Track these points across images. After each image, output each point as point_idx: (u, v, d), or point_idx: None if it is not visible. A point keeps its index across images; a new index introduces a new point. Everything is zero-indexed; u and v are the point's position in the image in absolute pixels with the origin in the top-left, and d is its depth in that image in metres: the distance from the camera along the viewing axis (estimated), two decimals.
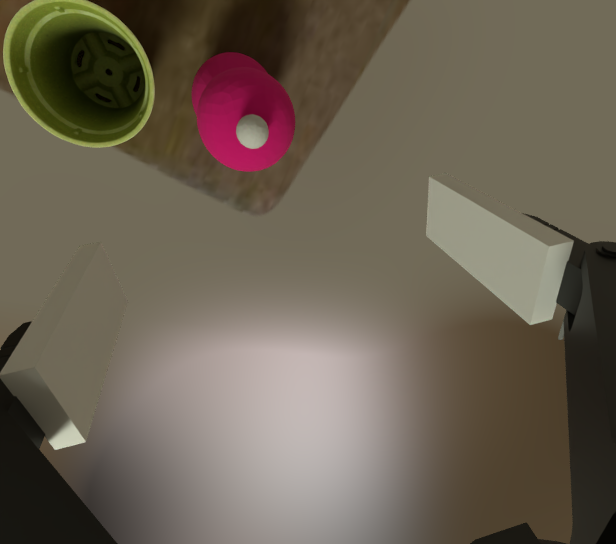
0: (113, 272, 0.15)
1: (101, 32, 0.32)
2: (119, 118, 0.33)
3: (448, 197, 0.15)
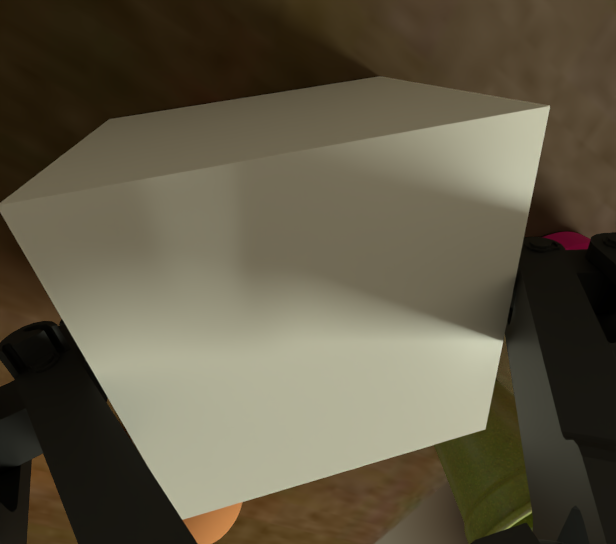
0: None
1: None
2: None
3: None
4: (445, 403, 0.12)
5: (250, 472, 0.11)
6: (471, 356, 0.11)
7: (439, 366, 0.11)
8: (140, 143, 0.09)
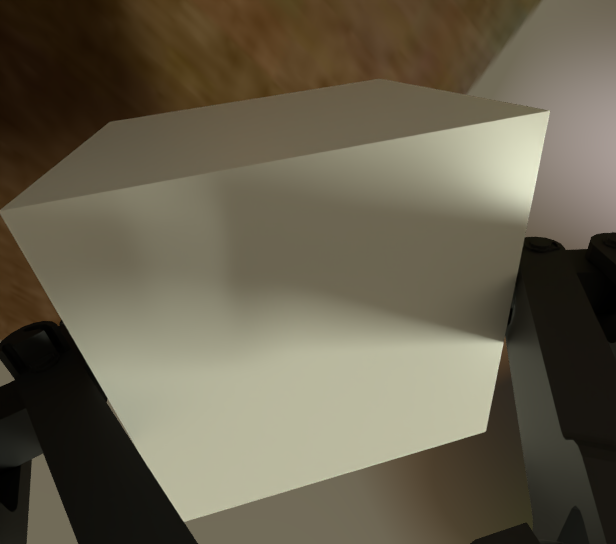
0: None
1: None
2: None
3: None
4: (445, 405, 0.12)
5: (251, 475, 0.11)
6: (471, 359, 0.11)
7: (439, 369, 0.11)
8: (141, 147, 0.09)
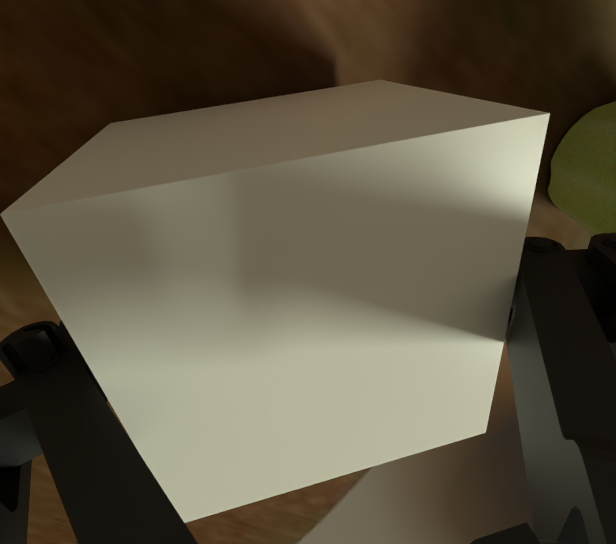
0: None
1: None
2: None
3: None
4: (445, 406, 0.12)
5: (251, 476, 0.11)
6: (471, 360, 0.11)
7: (439, 370, 0.11)
8: (142, 149, 0.09)
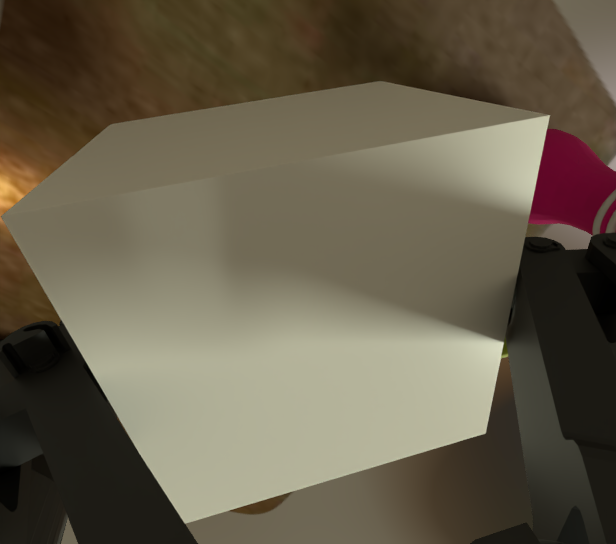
0: None
1: None
2: None
3: None
4: (445, 407, 0.12)
5: (251, 476, 0.11)
6: (471, 361, 0.11)
7: (439, 371, 0.11)
8: (142, 151, 0.09)
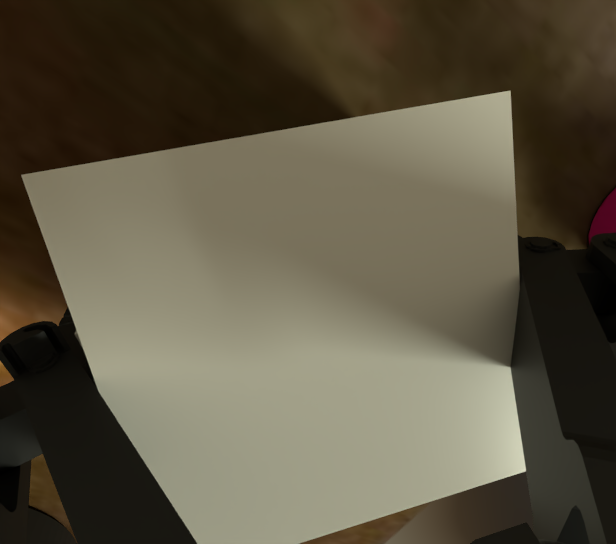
0: None
1: None
2: None
3: None
4: (471, 426, 0.10)
5: (251, 514, 0.10)
6: (490, 363, 0.10)
7: (456, 374, 0.10)
8: None
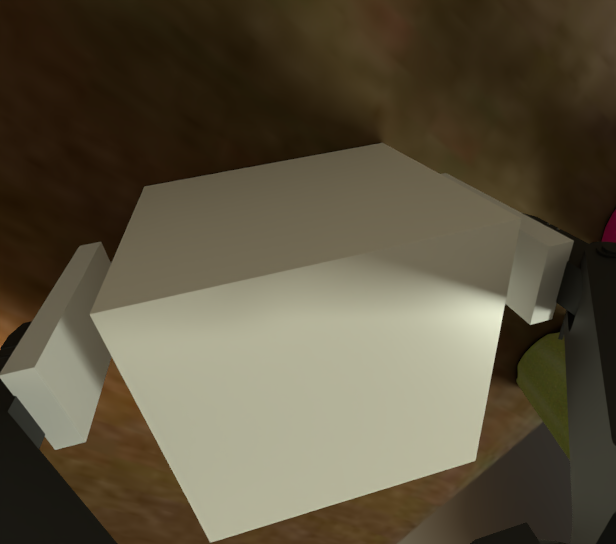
0: None
1: None
2: None
3: None
4: (439, 441, 0.14)
5: (272, 502, 0.13)
6: (461, 403, 0.13)
7: (434, 412, 0.13)
8: (184, 233, 0.11)
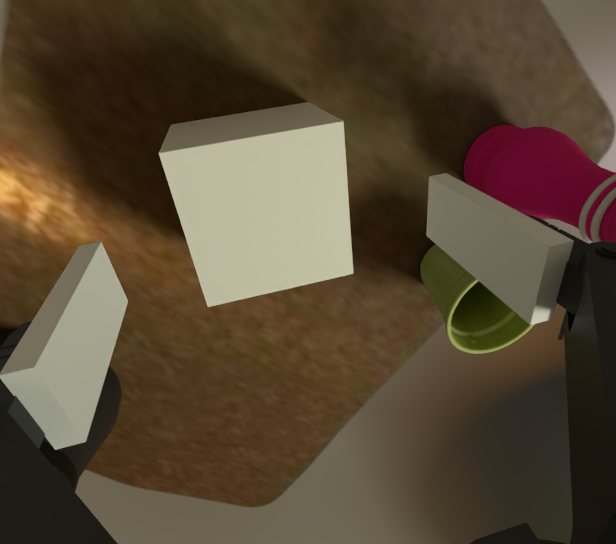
0: (113, 272, 0.15)
1: None
2: None
3: (447, 197, 0.15)
4: (328, 254, 0.26)
5: (239, 282, 0.25)
6: (336, 228, 0.25)
7: (321, 232, 0.25)
8: (194, 135, 0.23)
